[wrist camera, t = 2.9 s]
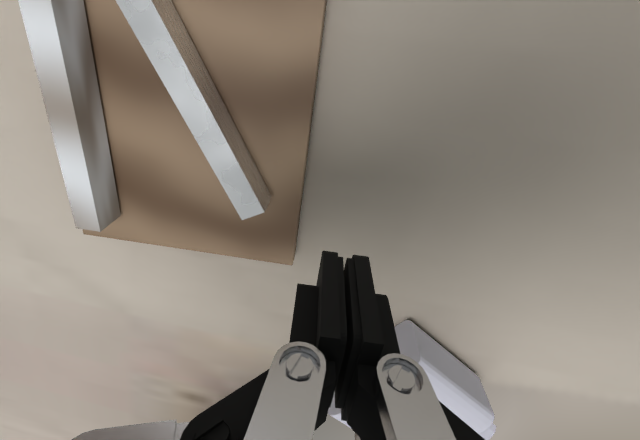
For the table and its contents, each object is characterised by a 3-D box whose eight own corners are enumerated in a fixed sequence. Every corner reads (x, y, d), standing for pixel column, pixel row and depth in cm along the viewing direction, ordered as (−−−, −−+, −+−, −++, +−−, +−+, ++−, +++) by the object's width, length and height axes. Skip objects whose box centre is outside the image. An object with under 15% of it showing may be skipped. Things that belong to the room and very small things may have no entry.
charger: (434, 439, 34) (328, 367, 29) (516, 402, 30) (409, 313, 26) (446, 495, 29) (325, 420, 25) (544, 460, 26) (422, 366, 22)
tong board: (-8, -273, 13) (-139, -390, 9) (353, -211, 13) (357, -304, 9) (98, 223, 23) (55, 254, 20) (295, 252, 23) (286, 289, 20)
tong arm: (17, -159, 13) (-47, -198, 11) (69, -200, 12) (12, -250, 10) (232, 210, 20) (219, 230, 18) (271, 197, 19) (263, 215, 17)
